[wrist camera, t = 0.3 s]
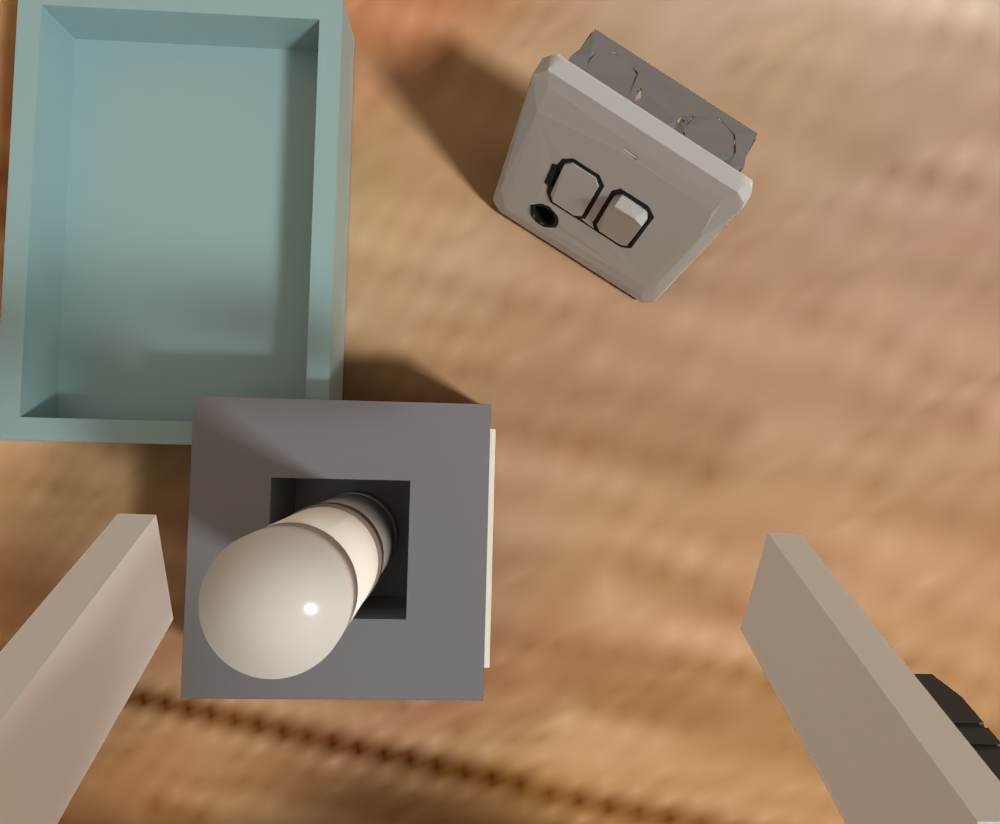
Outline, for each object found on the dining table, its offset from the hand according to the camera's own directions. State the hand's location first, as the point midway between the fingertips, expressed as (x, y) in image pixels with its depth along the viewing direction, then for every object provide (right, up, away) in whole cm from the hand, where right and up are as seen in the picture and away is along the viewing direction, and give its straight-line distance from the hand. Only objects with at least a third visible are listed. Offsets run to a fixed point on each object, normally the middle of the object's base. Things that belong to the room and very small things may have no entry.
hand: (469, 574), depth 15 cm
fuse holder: (-6, -2, +17) cm, 18 cm away
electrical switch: (+5, +14, +19) cm, 24 cm away
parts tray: (-14, +12, +17) cm, 25 cm away
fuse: (-6, -2, +16) cm, 18 cm away
